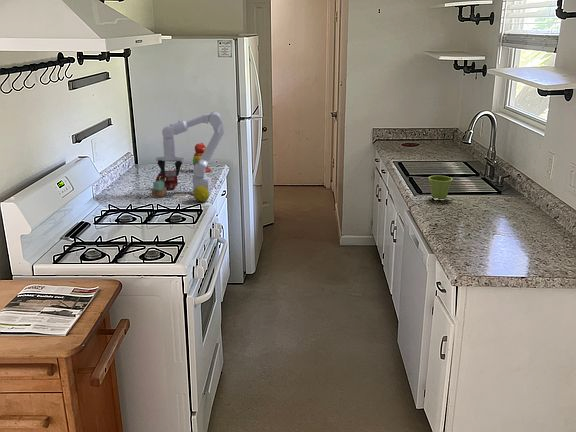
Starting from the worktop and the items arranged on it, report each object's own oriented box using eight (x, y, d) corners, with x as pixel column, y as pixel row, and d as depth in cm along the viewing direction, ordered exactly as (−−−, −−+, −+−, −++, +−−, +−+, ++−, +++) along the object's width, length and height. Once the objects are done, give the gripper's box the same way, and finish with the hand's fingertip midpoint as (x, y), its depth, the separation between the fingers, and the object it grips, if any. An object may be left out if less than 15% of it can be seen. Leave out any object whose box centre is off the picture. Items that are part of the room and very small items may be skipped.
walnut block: (167, 195, 301) (166, 188, 299) (162, 198, 295) (162, 190, 294) (156, 195, 302) (155, 187, 300) (151, 197, 296) (151, 190, 295)
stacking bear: (200, 174, 347) (199, 145, 342) (189, 172, 353) (187, 143, 348) (213, 171, 356) (212, 143, 350) (201, 169, 361) (200, 141, 356)
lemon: (210, 203, 284) (209, 188, 282) (194, 204, 283) (193, 189, 280) (208, 198, 294) (207, 183, 292) (193, 199, 293) (192, 183, 290)
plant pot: (423, 200, 289) (425, 178, 285) (431, 195, 298) (433, 174, 295) (446, 204, 282) (448, 182, 279) (454, 198, 292) (455, 177, 289)
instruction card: (190, 194, 301) (190, 194, 300) (186, 197, 295) (186, 197, 295) (175, 194, 302) (175, 193, 302) (171, 197, 296) (171, 196, 296)
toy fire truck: (157, 187, 317) (156, 169, 314) (179, 187, 317) (178, 168, 314) (155, 190, 310) (153, 171, 307) (177, 190, 311) (176, 171, 307)
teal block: (164, 188, 298) (164, 181, 297) (159, 190, 295) (158, 183, 293) (159, 187, 300) (158, 180, 299) (153, 189, 297) (152, 182, 295)
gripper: (185, 148, 298) (186, 173, 302) (158, 147, 301) (160, 172, 305) (180, 150, 292) (181, 176, 296) (153, 150, 294) (155, 175, 298)
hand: (170, 174), depth 300 cm, fingers open, 7 cm apart
